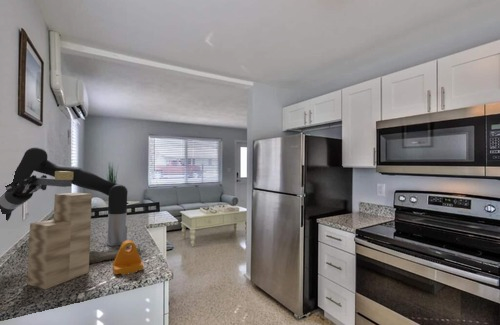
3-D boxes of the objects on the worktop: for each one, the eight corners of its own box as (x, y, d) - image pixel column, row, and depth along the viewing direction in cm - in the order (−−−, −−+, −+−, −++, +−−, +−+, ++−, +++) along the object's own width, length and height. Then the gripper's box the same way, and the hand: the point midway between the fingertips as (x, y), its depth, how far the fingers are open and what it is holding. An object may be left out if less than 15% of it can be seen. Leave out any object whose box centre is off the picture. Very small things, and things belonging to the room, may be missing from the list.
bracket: (114, 276, 99) (115, 246, 100) (112, 270, 105) (113, 241, 106) (143, 271, 105) (144, 242, 106) (140, 265, 111) (141, 238, 112)
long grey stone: (142, 258, 124) (137, 254, 132) (143, 247, 125) (138, 243, 133) (52, 271, 103) (52, 264, 110) (54, 257, 103) (54, 252, 111)
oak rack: (27, 284, 91) (31, 195, 92) (71, 268, 106) (74, 192, 107) (45, 289, 88) (49, 197, 89) (88, 272, 103) (91, 193, 104)
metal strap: (26, 183, 98) (27, 169, 98) (38, 183, 102) (39, 169, 102) (61, 186, 91) (62, 171, 91) (72, 186, 95) (73, 171, 95)
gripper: (-9, 189, 97) (16, 168, 92) (33, 187, 110) (57, 168, 106) (-5, 207, 96) (21, 186, 91) (37, 203, 109) (62, 184, 104)
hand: (40, 177), depth 98 cm, fingers closed on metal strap, 3 cm apart
